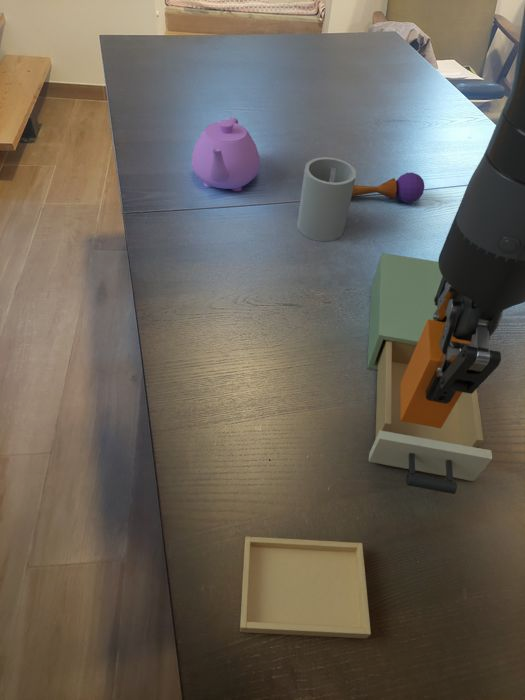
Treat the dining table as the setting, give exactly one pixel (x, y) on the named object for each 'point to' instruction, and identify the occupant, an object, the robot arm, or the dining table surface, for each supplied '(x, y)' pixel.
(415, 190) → the kendama
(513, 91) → the robot arm
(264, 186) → the dining table surface
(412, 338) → the cabinet
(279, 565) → the tray
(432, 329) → the block
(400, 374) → the drawer
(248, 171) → the teapot
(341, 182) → the cup
